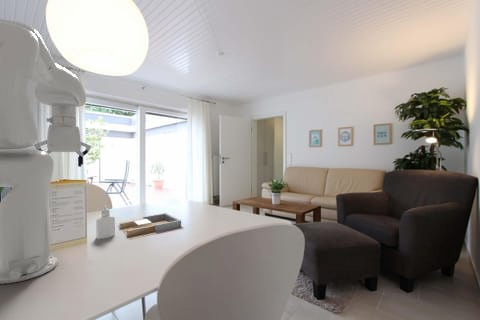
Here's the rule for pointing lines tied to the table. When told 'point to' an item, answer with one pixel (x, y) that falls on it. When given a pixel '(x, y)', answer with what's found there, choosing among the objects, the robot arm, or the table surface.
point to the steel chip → (142, 223)
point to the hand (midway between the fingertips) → (64, 166)
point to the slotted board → (142, 229)
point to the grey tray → (164, 226)
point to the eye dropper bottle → (105, 225)
